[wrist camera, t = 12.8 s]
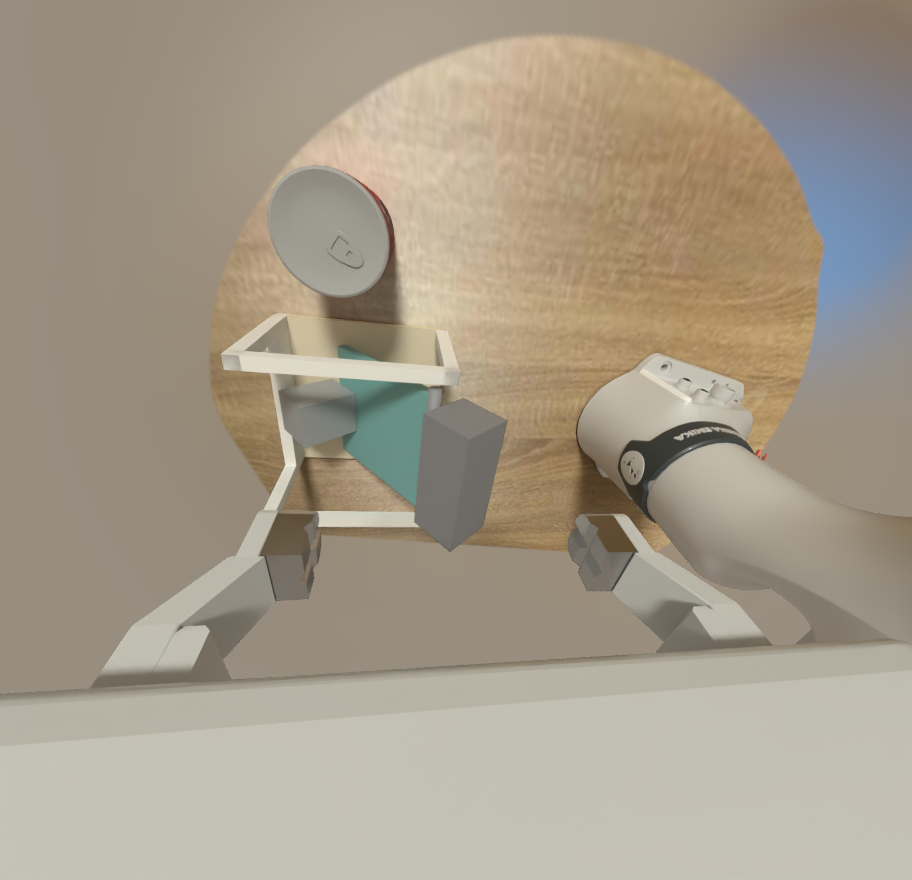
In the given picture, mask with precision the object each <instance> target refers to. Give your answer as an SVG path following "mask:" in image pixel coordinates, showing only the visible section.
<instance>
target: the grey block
mask: <svg viewBox="0 0 912 880" xmlns="http://www.w3.org/2000/svg"><path fill="white" fill-rule="evenodd" d="M278 393H279V399H280V405H281V411H282V417H283V424H284V429H285V430H286V431H287V432H288V433H289V434H290V435H291V436H292V437H293V438H294V439H296V440H297V441H298V442H299V443H300V444H301V445H302V446H303V447H304V448H308V447H311V446H314V445H317V444H319V443H322V442H325V441H328V440H331V439H334V438H337V437H340V436H343V435H346V434H349V433H352V432H354V431H357V430H356V400H355V393H353V392H352V391H350V390H349V389H347V388H346V387H344V386H343V385H341V384H340V383H338V382H337V381H335V380H334V379H328V380H324V381H319V382H314V383H310V384H305V385H301V386H296V387H292V388H287V389H282V390H278Z"/></svg>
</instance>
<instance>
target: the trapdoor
mask: <svg viewBox="0 0 912 880" xmlns="http://www.w3.org/2000/svg"><path fill="white" fill-rule="evenodd" d="M338 358H340V359H352V360H365V361H377V360H375V359H373V358H371V357H369V356H367V355H365V354H363V353H361V352H359V351H358V350H356V349H354V348H352V347H350V346H348V345H340V346H338ZM378 362H379V361H378ZM339 381H340V384H341V385H343V386H344V387H346V388H347V389H349V390H350V391H352V392H353V393H355V400H356V430H357V431H354V432H352V433H349V434H346V435H343V449H344V450H345V451H347V452H348V453H349V454H350V455H352V456H353V457H354V458H355V459H357V460H358V461H359V462H360V463H362V464H363V465H364V466H365V467H367V468H368V469H369V470H370V471H372V472H373V473H374V474H375V475H377V476H378V477H379V478H380V479H382V480H383V481H384V482H385V483H387V484H388V485H389V486H390V487H392V488H393V489H394V490H395V491H397V492H398V493H399V494H400V495H402V496H403V497H404V498H405V499H407V500H408V501H409V502H410V503H412V504H413V505H414V506H415V517H414V522H415V523H416V524H417V525H418V526H419V527H421V528H422V529H423V530H424V531H425V532H427V533H428V534H429V535H430V536H431V537H433V538H434V539H435V540H436V541H437V542H438V543H440V544H441V545H442V546H443V547H445V548H446V549H447V550H448V551H449V552H450V551H452V550H453V549H454V548H456V547H457V546H458V545H460V544H461V543H462V542H463V541H465V540H466V539H467V538H468V537H470V536H471V535H472V534H473V533H475V532H476V531H477V530H479V529H480V528H481V527H482V526H483V524H484V520H485V515H486V511H487V507H488V502H489V498H490V494H491V490H492V485H493V481H494V477H495V473H496V468H497V464H498V460H499V456H500V451H501V447H502V443H503V438H504V434H505V430H506V426H507V421H508V420H506V419H504V418H502V417H500V416H498V415H496V414H494V413H492V412H490V411H488V410H486V409H484V408H482V407H480V406H478V405H476V404H474V403H472V402H470V401H468V400H466V399H464V398H463V399H460V400H457V401H454V402H452V403H449V404H446V405H444V406H441V400H442V392H443V389H442V388H441V387H438V386H430V387H427V386H425V385H423V384H419V383H405V382H391V381H377V380H363V379H348V378H339Z"/></svg>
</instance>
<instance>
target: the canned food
mask: <svg viewBox="0 0 912 880" xmlns="http://www.w3.org/2000/svg"><path fill="white" fill-rule="evenodd" d="M267 217H268V229H269V233H270V237H271V241H272V243H273V246H274V248H275V250H276V253H277V255H278V256H279V258H280V259H281V261H282V263H283V264H284V266H285V267H286V268H287V269H288V270H289V272H290V273H291V274H292V275H293V276H294V277H295V278H296V279H298V280H299V281H300V282H301V283H302V284H304V285H305V286H307V287H308V288H310V289H312V290H313V291H316V292H318V293H321V294H323V295H327V296H331V297H340V298H346V297H352V296H356V295H359V294H361V293H364V292H366V291H367V290H369V289H370V288H371V287H373V286H374V285H375V284H376V283H377V282H378V281H379V279H380V278H381V277H382V275H383V273H384V271H385V269H386V268H387V265H388V262H389V260H390V257H391V254H392V250H393V246H394V228H393V224H392V220H391V217H390V215H389V213H388V211H387V209H386V207H385V205H384V204H383V202H382V201H381V200H380V198H379V197H378V196H377V195H376V194H375V193H374V192H373V191H372V190H370V189H369V188H368V187H367V186H365V185H364V184H362V183H361V182H359V181H358V180H357V179H355V178H354V177H352V176H350V175H348V174H346V173H344V172H342V171H340V170H338V169H334V168H331V167H328V166H319V165H311V166H306V167H300V168H298V169H295V170H293V171H291V172H289V173H288V174H287V175H286V176H284V177H283V178H282V179H281V180H280V181H279V182H278V184H277V185H276V187H275V188H274V190H273V192H272V195H271V198H270V200H269V206H268V213H267Z"/></svg>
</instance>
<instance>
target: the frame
mask: <svg viewBox="0 0 912 880" xmlns="http://www.w3.org/2000/svg"><path fill="white" fill-rule="evenodd" d="M340 345H348V346H350V347H352V348H354V349H356V350H358V351H359V352H361V353H363V354H365V355H367V356H369V357H371V358H373V359H375V360H377V361H365V360H352V359H340V358H338V346H340ZM265 349H266V351H267V353H264V352H263V351H264V350H265ZM221 358H222V362H223V366H224V370H235V371H249V372H263V373H270V375H271V381H272V387H273V393H274V399H275V405H276V411H277V417H278V423H279V429H280V435H281V441H282V447H283V453H284V459H285V467H284V469H283V471H282V473H281V475H280V477H279V480H278V482H277V484H276V486H275V488H274V490H273V492H272V494H271V496H270V498H269V500H268V502H267V504H266V506H265V508H264V510H282V509H283V506H284V504H285V502H286V499H287V497H288V495H289V492H290V490H291V488H292V485H293V483H294V481H295V478H296V476H297V474H298V471H299V469H300V467H301V464H302V462H303V460H304V457H319V458H348V459H355V458H354V457H353V456H352V455H350V454H349V453H348V452H347V451H345V450H344V449H343V436H340V437H337V438H334V439H331V440H328V441H325V442H322V443H319V444H317V445H314V446H311V447H308V448H304V447H303V446H302V445H301V444H300V443H299V442H298V441H297V440H296V439H294V438H293V437H292V436H291V435H290V434H289V433H288V432H287V431H286V430H285V429H284V424H283V417H282V411H281V405H280V399H279V393H278V390H282V389H287V388H292V387H296V386H301V385H305V384H310V383H314V382H319V381H324V380H328V379H334V380H335V381H337V382H338V383H340V381H339V378H348V379H363V380H377V381H391V382H405V383H419V384H423V385H425V386H427V387H430V386H438V387H441V385H448V386H459V379H460V370H459V367H458V364H457V361H456V358H455V354H454V351H453V348H452V345H451V342H450V339H449V336H448V333H447V330H446V329H437V328H427V327H417V326H406V325H396V324H386V323H375V322H365V321H355V320H344V319H334V318H324V317H313V316H303V315H293V314H283V313H275V314H273V315H272V316H271V317H269V318H268V319H267V320H265V321H264V322H263V323H261V324H260V325H259V326H257V327H256V328H255V329H253V330H252V331H251V332H249V333H248V334H247V335H245V336H244V337H243V338H241V339H240V340H239V341H237V342H236V343H235V344H233V345H232V346H231V347H229V348H228V349H227V350H225V351H224V352H223V353H221ZM378 361H379V362H378ZM317 512H318V515H319V524H318V527H419V526H418V525H417V524H416V523H415V522H414V517H415V512H353V511H317Z"/></svg>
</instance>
